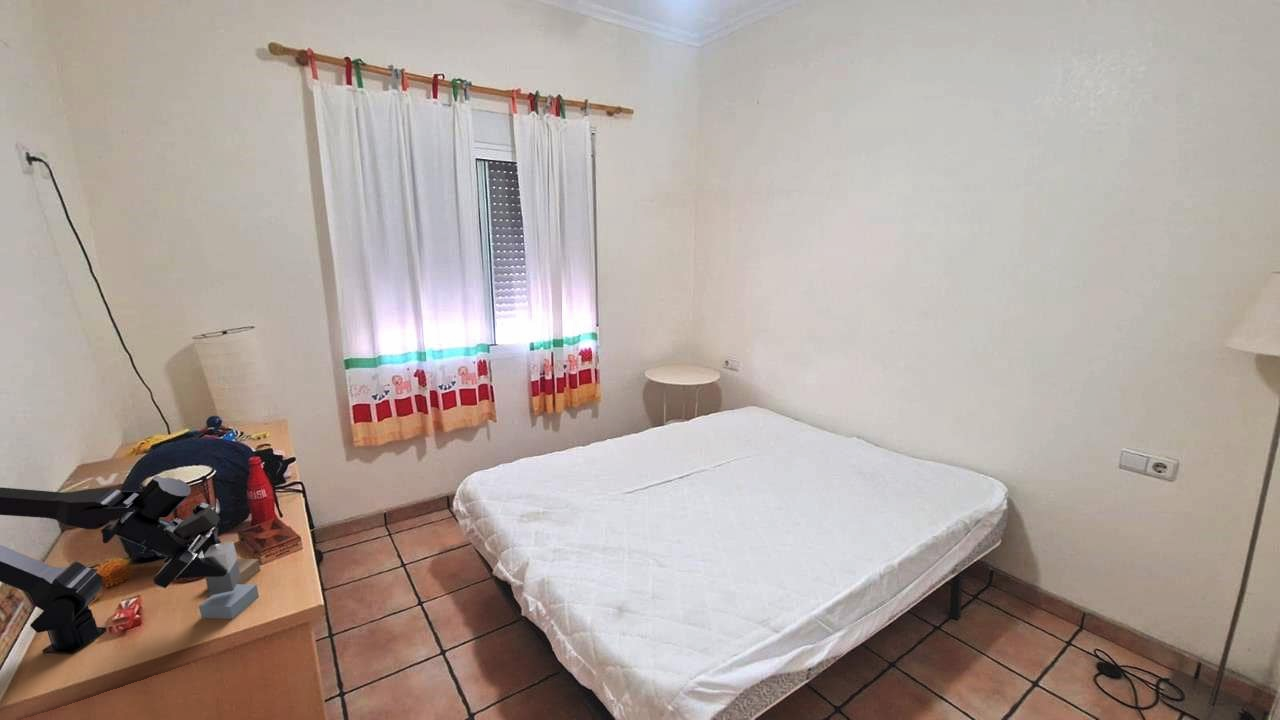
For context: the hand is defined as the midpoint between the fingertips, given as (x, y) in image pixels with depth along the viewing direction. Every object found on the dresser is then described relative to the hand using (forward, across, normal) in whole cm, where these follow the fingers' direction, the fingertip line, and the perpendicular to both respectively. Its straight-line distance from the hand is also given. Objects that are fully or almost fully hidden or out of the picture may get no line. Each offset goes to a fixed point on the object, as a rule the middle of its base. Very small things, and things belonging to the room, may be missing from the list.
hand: (229, 566), depth 109 cm
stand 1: (+4, +11, +9) cm, 15 cm away
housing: (+2, 0, +4) cm, 5 cm away
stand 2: (+6, 0, +8) cm, 10 cm away
